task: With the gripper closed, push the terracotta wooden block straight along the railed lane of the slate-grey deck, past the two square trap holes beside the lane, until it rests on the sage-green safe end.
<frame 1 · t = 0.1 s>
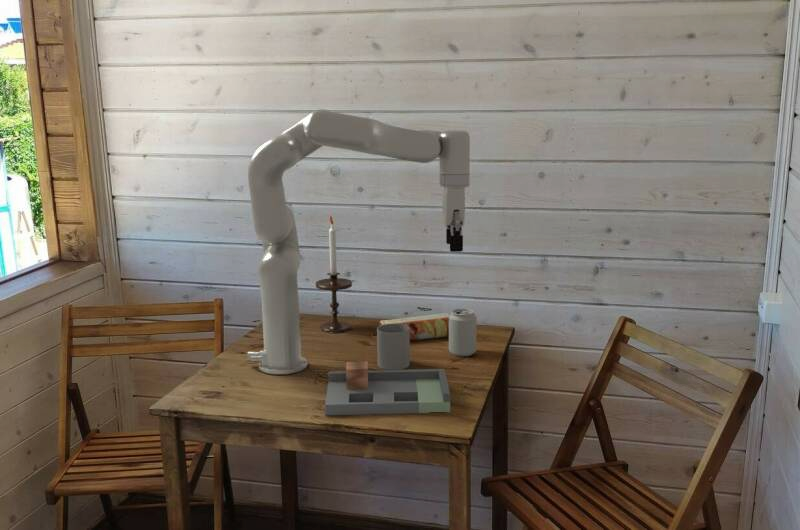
hand: (454, 247, 207), 31 cm above the table, tool pointing down, fingers open, 9 cm apart
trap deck: (387, 400, 190), on the table
snack package: (416, 339, 235), on the table
cup: (393, 365, 214), on the table
candlestick: (335, 329, 245), on the table
block: (357, 385, 192), point 2 cm above the table, touching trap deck
can: (462, 353, 222), on the table
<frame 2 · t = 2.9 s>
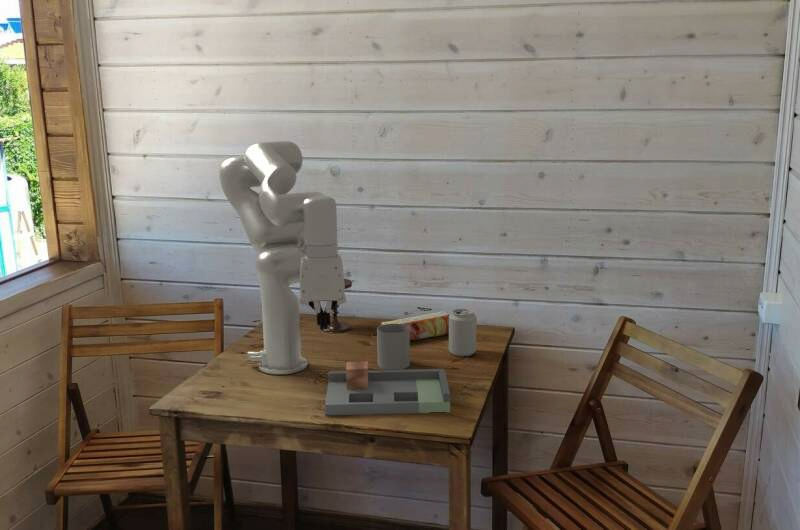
hand: (324, 327, 189), 17 cm above the table, tool pointing down, fingers closed
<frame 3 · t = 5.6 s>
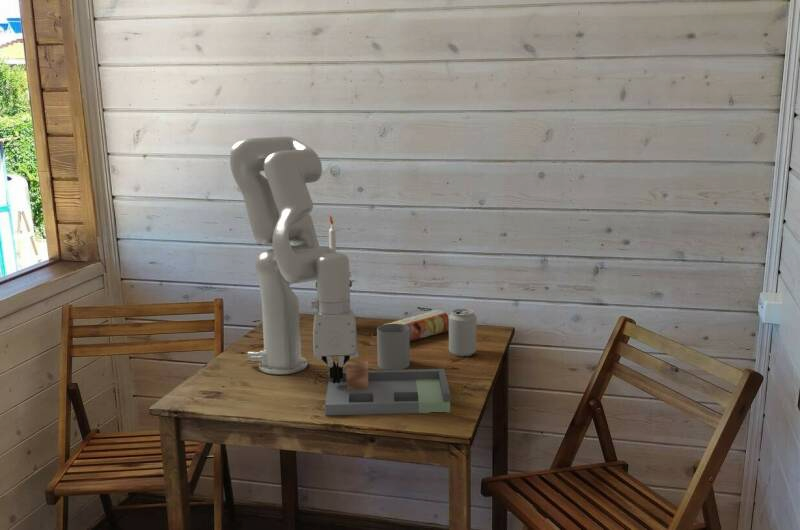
hand: (336, 381, 192), 4 cm above the table, tool pointing down, fingers closed
block: (357, 385, 192), point 2 cm above the table, touching gripper, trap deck
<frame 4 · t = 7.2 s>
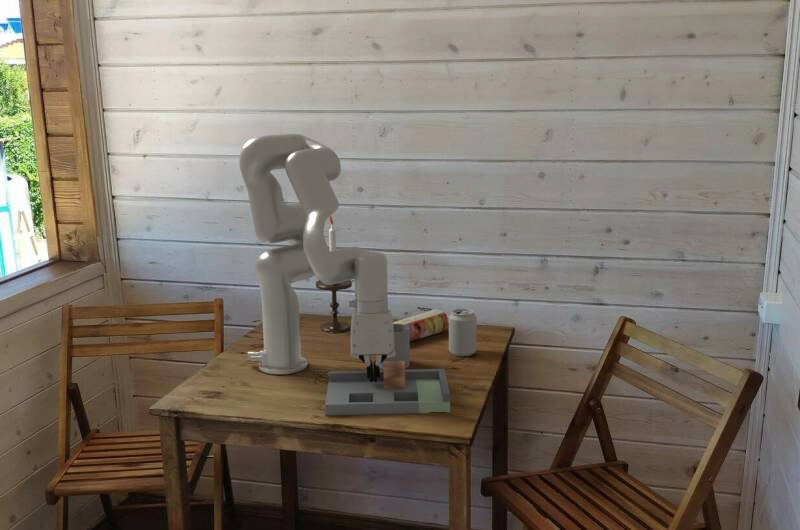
hand: (373, 380, 192), 4 cm above the table, tool pointing down, fingers closed
block: (394, 384, 192), point 3 cm above the table, touching gripper
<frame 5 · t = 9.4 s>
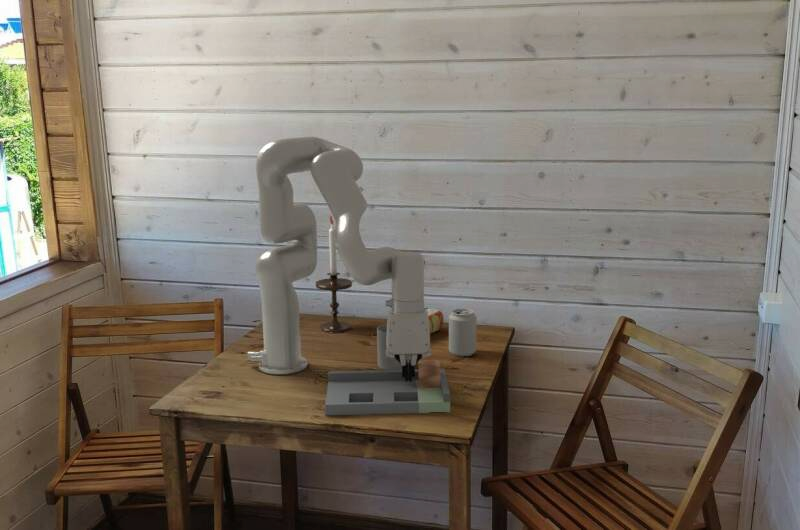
hand: (408, 379, 192), 4 cm above the table, tool pointing down, fingers closed
block: (429, 384, 193), point 2 cm above the table, touching gripper, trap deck
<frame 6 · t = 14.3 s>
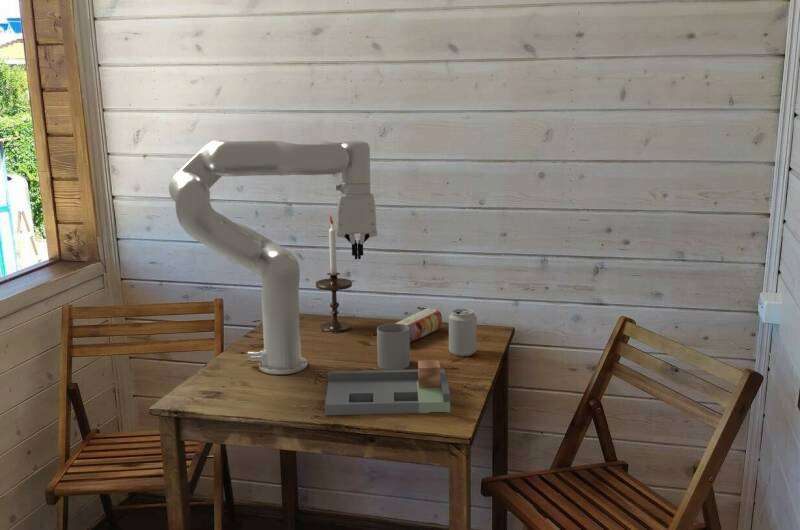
hand: (357, 258, 215), 27 cm above the table, tool pointing down, fingers closed
block: (429, 384, 193), point 2 cm above the table, touching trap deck
at the end: block 1.8 cm from the target spot on the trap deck, point 2.5 cm above the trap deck's base; block tilted 0° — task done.
